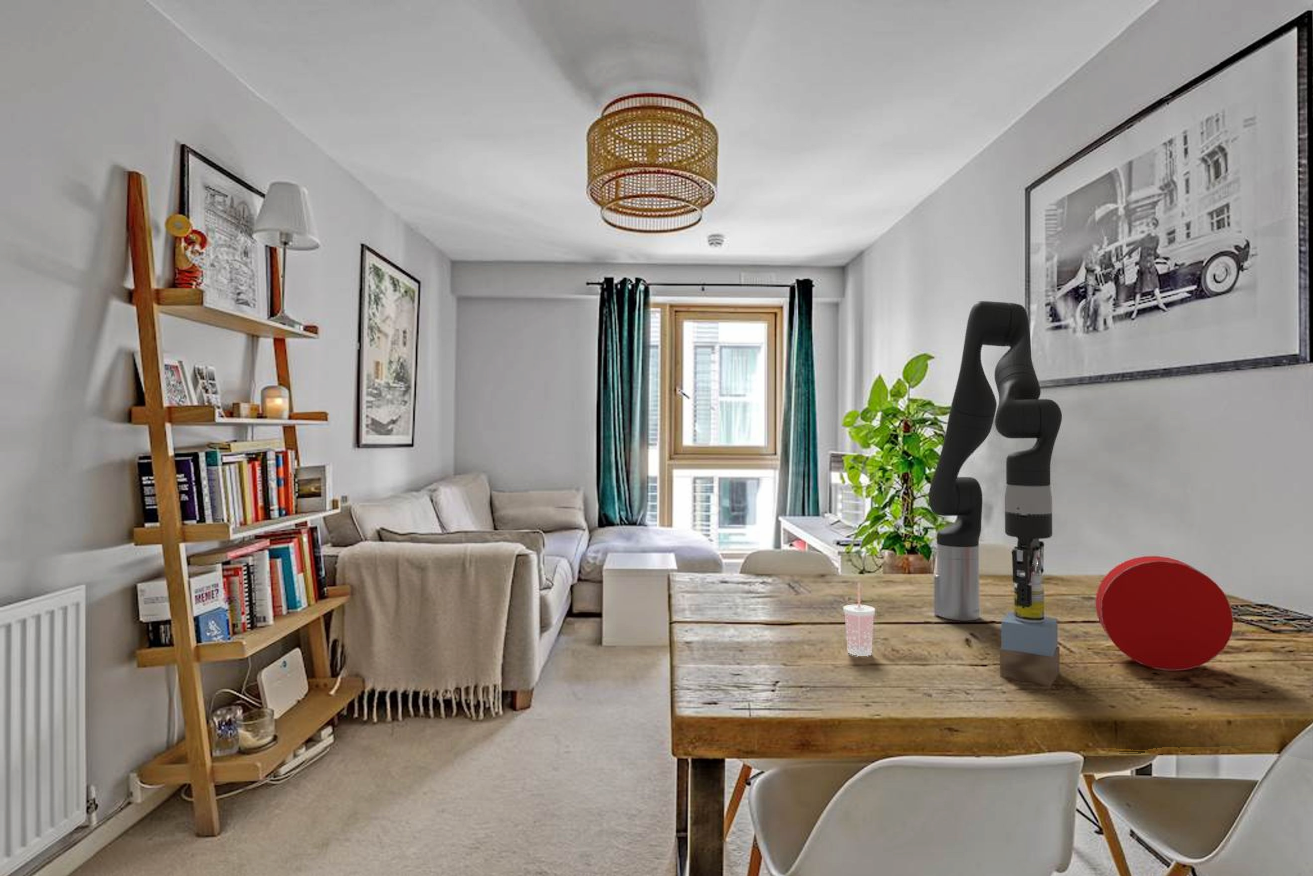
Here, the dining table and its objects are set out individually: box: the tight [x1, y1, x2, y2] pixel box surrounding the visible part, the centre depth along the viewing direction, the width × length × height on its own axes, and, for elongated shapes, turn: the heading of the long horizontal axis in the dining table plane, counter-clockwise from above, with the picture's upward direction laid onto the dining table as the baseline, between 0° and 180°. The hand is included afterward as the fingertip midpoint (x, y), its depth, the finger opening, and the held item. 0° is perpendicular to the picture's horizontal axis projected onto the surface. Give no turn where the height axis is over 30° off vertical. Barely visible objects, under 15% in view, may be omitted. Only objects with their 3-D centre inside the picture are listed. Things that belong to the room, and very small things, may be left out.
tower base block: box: [999, 646, 1061, 687], centre depth 124 cm, size 8×8×5 cm
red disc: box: [1095, 555, 1234, 671], centre depth 129 cm, size 20×6×20 cm, turn 66°
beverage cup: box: [842, 582, 876, 657], centre depth 137 cm, size 6×6×14 cm
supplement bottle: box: [1013, 573, 1045, 623], centre depth 124 cm, size 5×5×8 cm
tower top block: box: [1000, 611, 1059, 657], centre depth 125 cm, size 8×8×5 cm
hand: (1028, 602), depth 124 cm, fingers open, 6 cm apart
